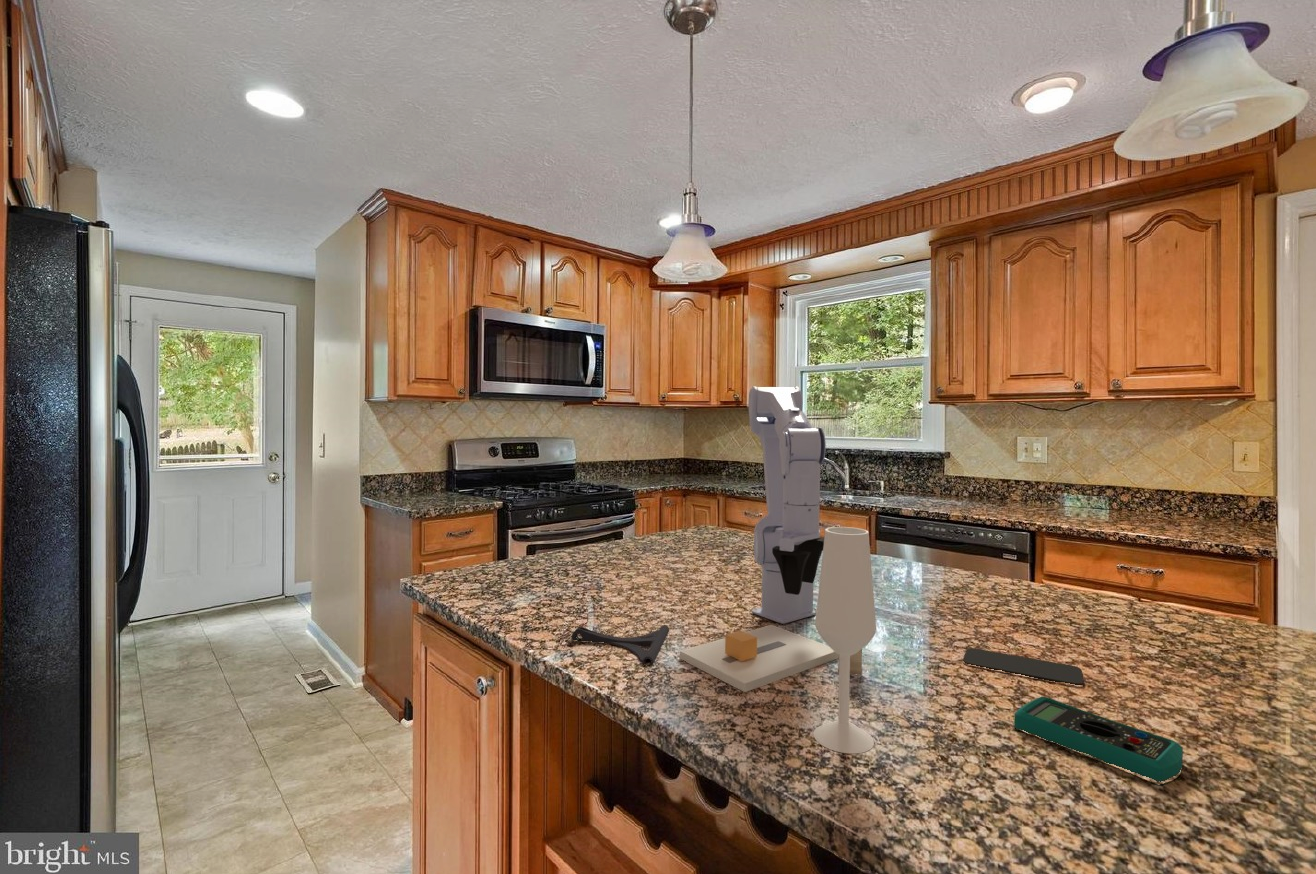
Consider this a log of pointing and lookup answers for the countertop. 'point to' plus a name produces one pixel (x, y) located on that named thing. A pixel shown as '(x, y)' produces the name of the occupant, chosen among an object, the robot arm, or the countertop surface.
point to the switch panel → (760, 658)
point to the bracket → (629, 641)
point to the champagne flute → (845, 624)
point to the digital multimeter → (1101, 738)
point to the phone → (1024, 666)
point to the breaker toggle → (741, 645)
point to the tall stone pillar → (855, 663)
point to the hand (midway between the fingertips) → (799, 587)
